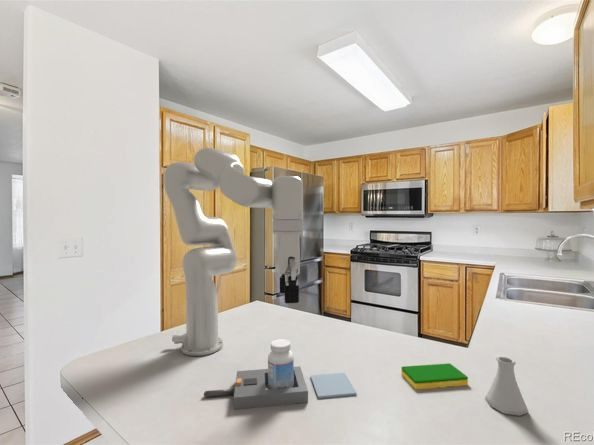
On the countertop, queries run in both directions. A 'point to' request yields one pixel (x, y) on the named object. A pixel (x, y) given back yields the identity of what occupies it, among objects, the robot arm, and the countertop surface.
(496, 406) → the flask
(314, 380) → the slate mat
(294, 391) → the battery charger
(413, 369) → the dish sponge
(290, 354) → the pill bottle
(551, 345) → the countertop surface
